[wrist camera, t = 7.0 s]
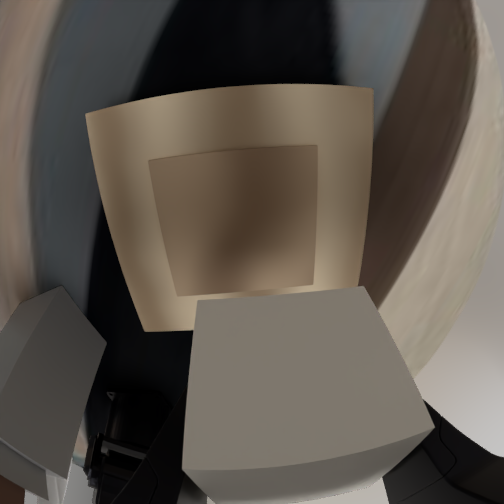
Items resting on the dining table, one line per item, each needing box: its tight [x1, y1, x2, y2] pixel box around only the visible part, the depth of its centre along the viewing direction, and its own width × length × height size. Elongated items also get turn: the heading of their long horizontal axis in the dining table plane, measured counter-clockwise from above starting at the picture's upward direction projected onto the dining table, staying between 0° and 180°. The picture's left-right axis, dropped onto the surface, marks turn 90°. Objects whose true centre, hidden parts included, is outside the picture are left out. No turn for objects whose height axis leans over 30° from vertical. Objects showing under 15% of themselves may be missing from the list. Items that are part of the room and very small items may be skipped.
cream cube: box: [182, 286, 435, 504], centre depth 8 cm, size 5×5×5 cm
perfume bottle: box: [0, 285, 107, 504], centre depth 14 cm, size 7×7×18 cm
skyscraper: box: [37, 456, 73, 504], centre depth 30 cm, size 8×8×28 cm
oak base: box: [85, 84, 374, 332], centre depth 16 cm, size 14×14×3 cm
